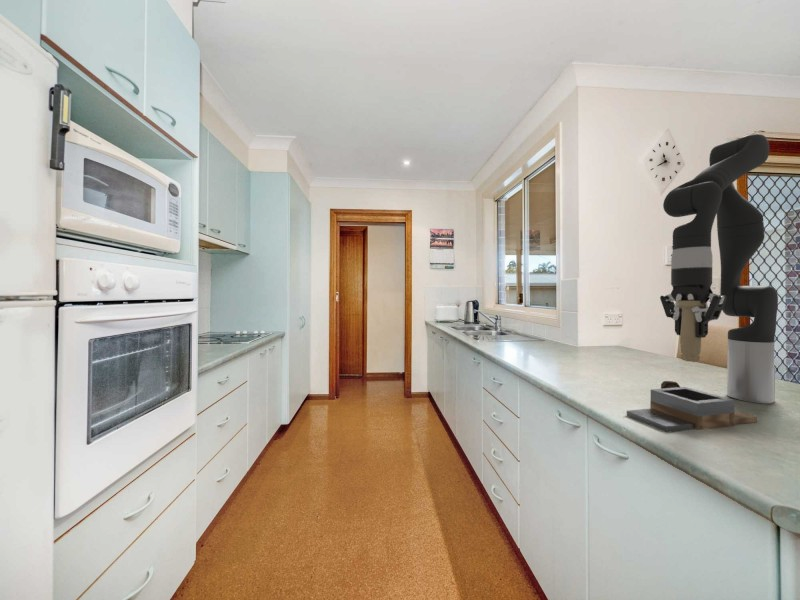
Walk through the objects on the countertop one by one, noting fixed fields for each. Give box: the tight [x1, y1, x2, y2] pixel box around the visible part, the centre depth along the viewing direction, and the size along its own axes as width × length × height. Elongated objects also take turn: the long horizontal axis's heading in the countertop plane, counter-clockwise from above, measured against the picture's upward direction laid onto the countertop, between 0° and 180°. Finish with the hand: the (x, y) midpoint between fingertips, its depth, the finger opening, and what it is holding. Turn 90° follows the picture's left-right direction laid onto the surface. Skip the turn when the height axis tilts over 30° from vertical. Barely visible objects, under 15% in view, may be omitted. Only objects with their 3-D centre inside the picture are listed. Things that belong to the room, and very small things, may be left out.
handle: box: [678, 301, 704, 363], centre depth 79 cm, size 5×6×15 cm
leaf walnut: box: [649, 400, 758, 431], centre depth 80 cm, size 19×11×3 cm, turn 101°
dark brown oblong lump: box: [660, 380, 681, 389], centre depth 94 cm, size 6×5×15 cm
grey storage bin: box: [626, 386, 736, 433], centre depth 78 cm, size 19×11×6 cm, turn 101°
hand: (690, 335), depth 79 cm, fingers closed on handle, 4 cm apart
